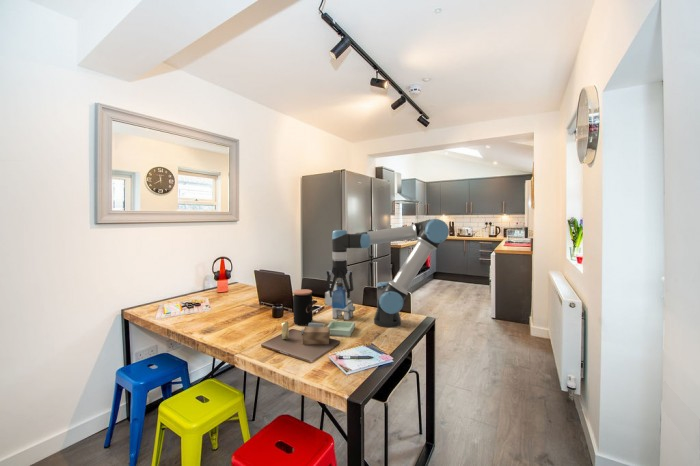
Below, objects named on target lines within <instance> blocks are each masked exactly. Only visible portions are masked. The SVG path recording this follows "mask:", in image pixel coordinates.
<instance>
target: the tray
mask: <svg viewBox="0 0 700 466" xmlns="http://www.w3.org/2000/svg"><path fill="white" fill-rule="evenodd" d="M326 327H330V337H331V336H333V337H346V338H347V337H349V338H350V337H351V335H352V334H353V332H354V330H355V329H356V321H339V320H331V321H330V322H329V323H328V325H326Z"/></svg>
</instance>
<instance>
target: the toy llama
mask: <svg viewBox="0 0 700 466" xmlns="http://www.w3.org/2000/svg"><path fill="white" fill-rule="evenodd" d="M337 283H338V282H335V285H334V288H333V291H335V290H337ZM331 285H332V283H330V288H331ZM324 305H325V306H329V307H332V297H330V291H329V290H327V291H325V292H324ZM354 312H356V306H355V305H354V301H353V300H351V299H348V306H347V307H345V308H344V309H339V308H332V319H333V320H337V319H339V317H342V316H343V320H344V321H345V322H349V320H350V319H353V318H354ZM342 314H343V315H342Z"/></svg>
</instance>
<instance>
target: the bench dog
mask: <svg viewBox="0 0 700 466" xmlns="http://www.w3.org/2000/svg"><path fill="white" fill-rule="evenodd" d="M289 327H290V326H289V322H288V321H282V322H281V340H282V339H288V338H289V337H290V334H289V333H290V332H289ZM289 339H290V338H289ZM289 339H288V340H289Z"/></svg>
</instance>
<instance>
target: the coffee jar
mask: <svg viewBox="0 0 700 466" xmlns="http://www.w3.org/2000/svg"><path fill="white" fill-rule="evenodd" d="M292 293H293V296H292V299H293V300H292V301H293V304H292V305H293V308H292V309H293V323H294V324H295V325H296V326H302V327H303V326H308V324H309V323H313V295H312V293H313V290H311V289H307V288H306V289H303V288H302V289H301V288H300V289H296V290H294V291H292Z"/></svg>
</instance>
